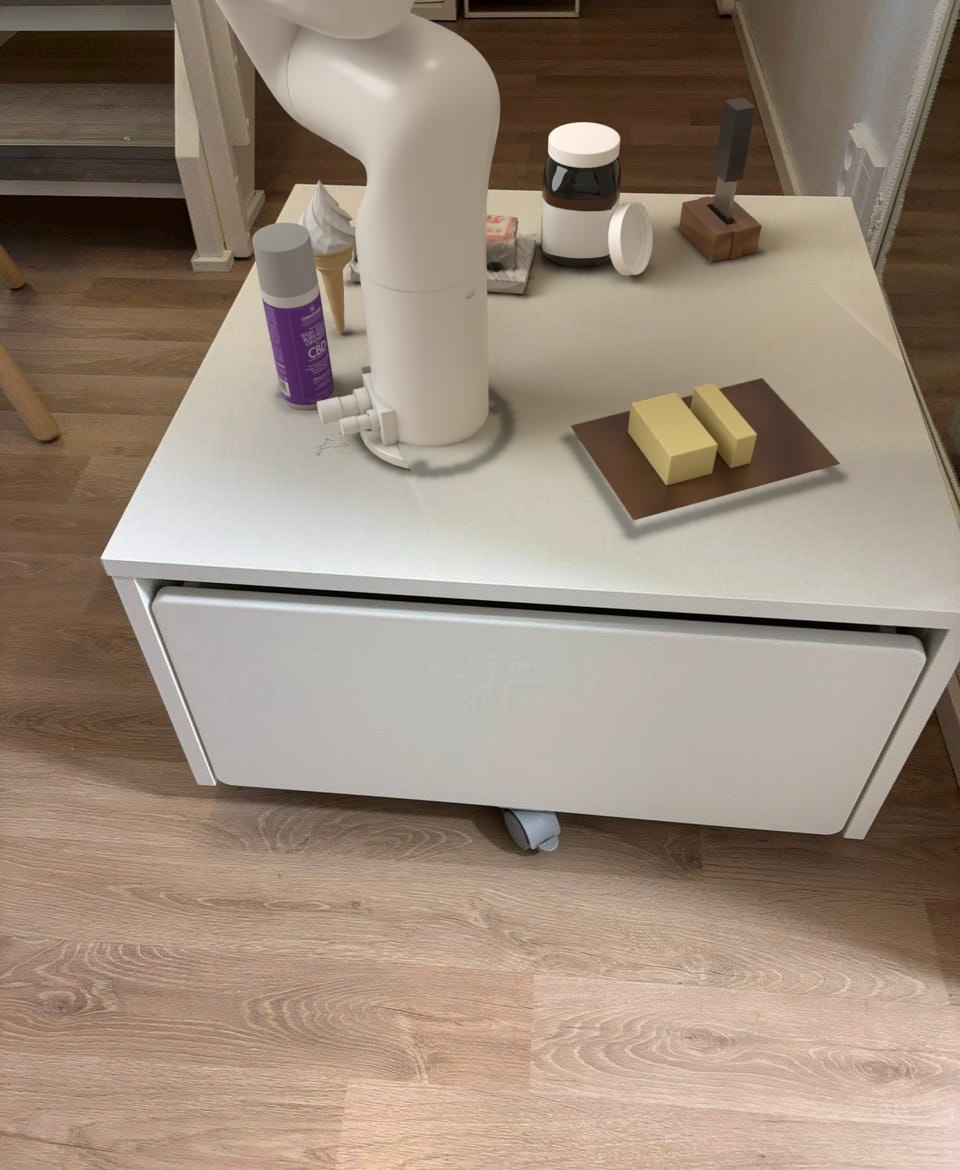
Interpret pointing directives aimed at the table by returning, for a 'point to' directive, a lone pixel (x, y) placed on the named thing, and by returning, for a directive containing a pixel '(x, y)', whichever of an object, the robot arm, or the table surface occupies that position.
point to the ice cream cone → (330, 246)
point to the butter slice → (724, 425)
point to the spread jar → (590, 203)
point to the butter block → (672, 438)
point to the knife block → (719, 230)
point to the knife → (731, 153)
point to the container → (294, 314)
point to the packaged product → (495, 255)
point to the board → (774, 458)
